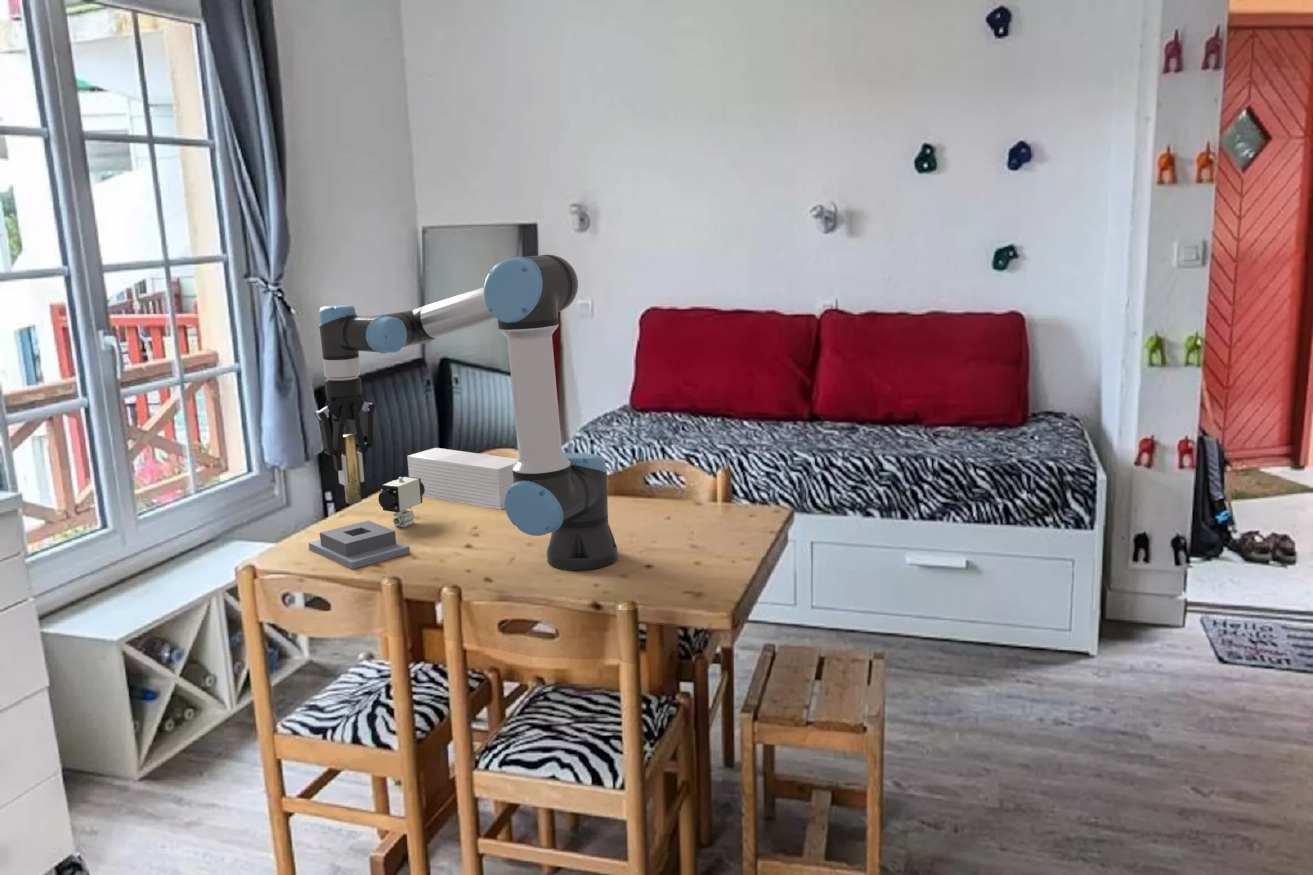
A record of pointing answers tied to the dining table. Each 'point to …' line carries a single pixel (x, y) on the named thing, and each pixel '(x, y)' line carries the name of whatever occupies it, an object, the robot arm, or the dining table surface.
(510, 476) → the stack of papers
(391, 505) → the pneumatic valve
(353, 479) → the brass pin
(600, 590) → the dining table surface
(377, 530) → the grey socket base
